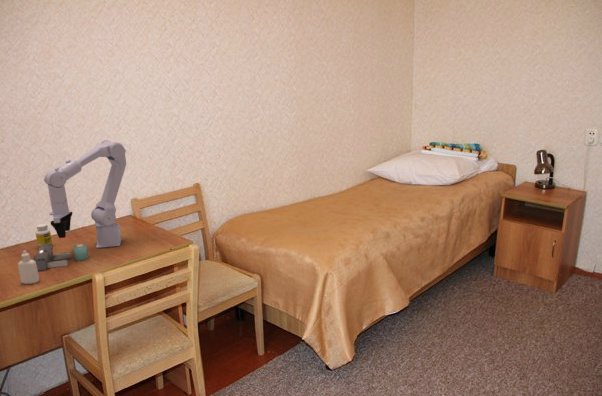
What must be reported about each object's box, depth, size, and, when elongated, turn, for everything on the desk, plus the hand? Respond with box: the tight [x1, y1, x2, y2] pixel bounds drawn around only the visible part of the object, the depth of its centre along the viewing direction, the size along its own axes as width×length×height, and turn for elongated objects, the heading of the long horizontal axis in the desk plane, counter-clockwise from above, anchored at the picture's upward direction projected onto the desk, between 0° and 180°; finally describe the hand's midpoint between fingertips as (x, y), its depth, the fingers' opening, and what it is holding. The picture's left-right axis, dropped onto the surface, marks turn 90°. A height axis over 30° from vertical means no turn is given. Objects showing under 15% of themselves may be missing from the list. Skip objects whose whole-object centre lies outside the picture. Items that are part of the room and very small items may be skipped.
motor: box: [32, 244, 73, 272], centre depth 180 cm, size 11×12×6 cm
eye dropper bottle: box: [17, 250, 40, 285], centre depth 164 cm, size 4×6×12 cm
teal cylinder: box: [72, 243, 89, 262], centre depth 184 cm, size 5×5×6 cm
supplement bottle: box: [35, 223, 53, 250], centre depth 195 cm, size 5×5×10 cm
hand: (64, 234), depth 184 cm, fingers open, 7 cm apart
